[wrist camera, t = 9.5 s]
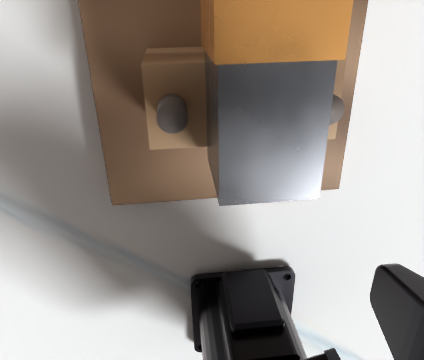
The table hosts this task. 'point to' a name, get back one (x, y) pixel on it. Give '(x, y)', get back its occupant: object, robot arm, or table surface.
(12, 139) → the table surface
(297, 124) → the spanner bar
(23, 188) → the table surface
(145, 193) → the tool rack
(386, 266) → the robot arm
